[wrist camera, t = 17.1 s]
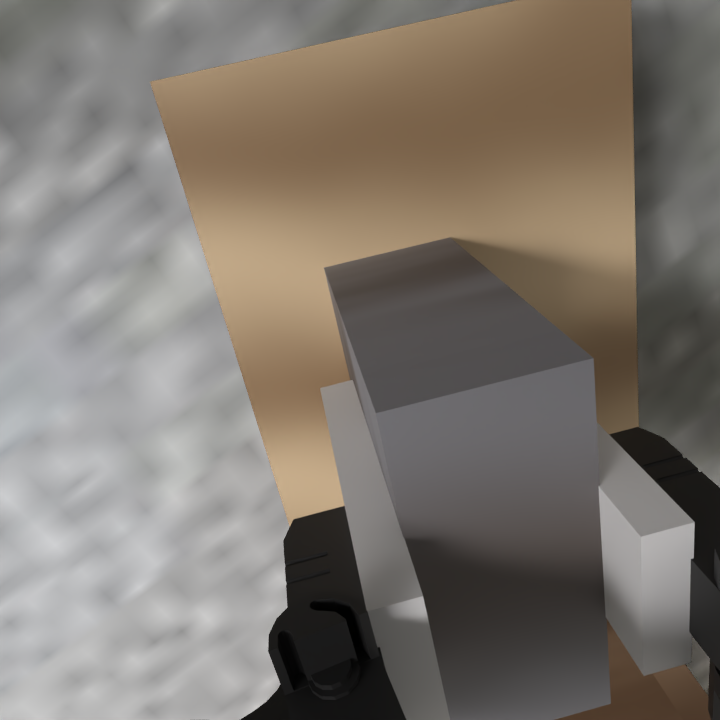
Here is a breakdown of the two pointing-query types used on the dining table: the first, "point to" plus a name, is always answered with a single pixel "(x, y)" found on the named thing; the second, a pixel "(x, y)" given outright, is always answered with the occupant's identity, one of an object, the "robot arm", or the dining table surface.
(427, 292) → the lid
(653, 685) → the toolbox
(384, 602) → the robot arm
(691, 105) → the dining table surface
